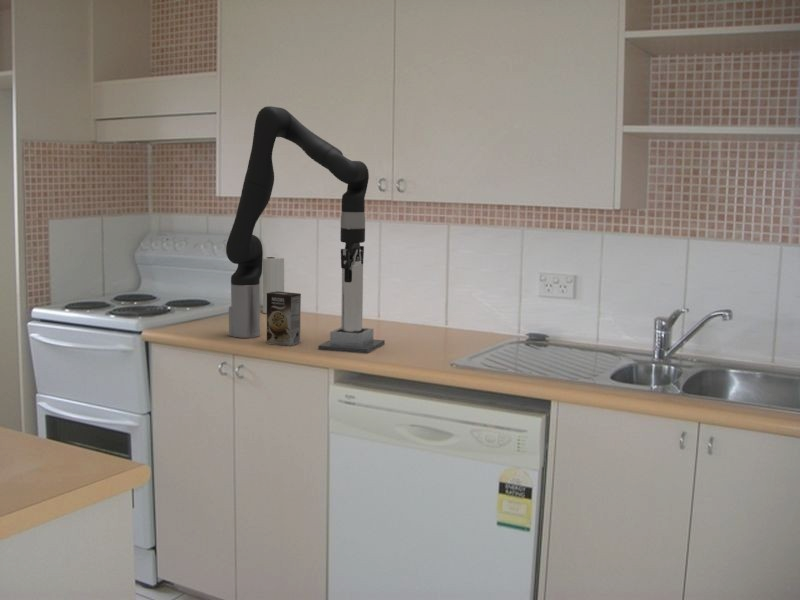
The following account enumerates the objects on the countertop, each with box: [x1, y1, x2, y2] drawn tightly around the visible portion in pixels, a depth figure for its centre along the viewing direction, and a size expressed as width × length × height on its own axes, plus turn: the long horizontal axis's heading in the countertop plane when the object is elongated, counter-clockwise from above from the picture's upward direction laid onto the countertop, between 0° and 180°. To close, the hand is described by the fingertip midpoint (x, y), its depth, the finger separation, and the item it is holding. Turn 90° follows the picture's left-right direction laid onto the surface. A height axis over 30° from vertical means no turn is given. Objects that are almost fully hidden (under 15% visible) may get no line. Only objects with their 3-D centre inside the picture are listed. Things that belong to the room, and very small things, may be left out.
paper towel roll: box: [262, 256, 285, 315], centre depth 340 cm, size 7×6×21 cm
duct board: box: [317, 327, 385, 354], centre depth 278 cm, size 16×16×5 cm
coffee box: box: [266, 291, 302, 347], centre depth 281 cm, size 9×6×16 cm
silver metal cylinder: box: [340, 260, 364, 333], centre depth 277 cm, size 6×6×25 cm
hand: (352, 280), depth 276 cm, fingers closed on silver metal cylinder, 6 cm apart
